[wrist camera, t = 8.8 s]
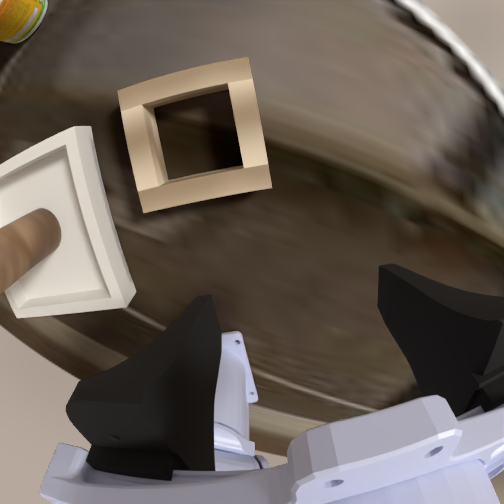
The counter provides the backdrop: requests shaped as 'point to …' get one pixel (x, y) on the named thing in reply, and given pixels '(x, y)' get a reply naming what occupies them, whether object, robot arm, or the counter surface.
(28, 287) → the tray
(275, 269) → the counter surface
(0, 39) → the supplement bottle
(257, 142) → the collar
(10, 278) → the wooden dowel
